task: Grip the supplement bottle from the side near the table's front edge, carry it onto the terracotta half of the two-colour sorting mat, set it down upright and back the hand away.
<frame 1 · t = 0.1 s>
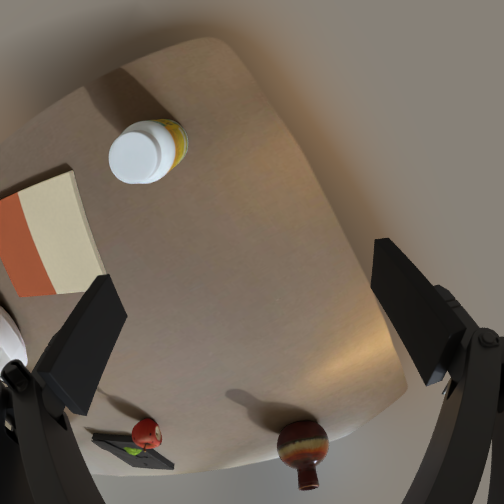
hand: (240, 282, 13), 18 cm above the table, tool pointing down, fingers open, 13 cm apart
vase: (300, 427, 54), on the table
sorting mat: (39, 242, 32), on the table
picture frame: (134, 450, 62), on the table
bowl: (2, 320, 39), on the table
apple: (148, 419, 52), on the table
supplement bottle: (164, 143, 27), on the table
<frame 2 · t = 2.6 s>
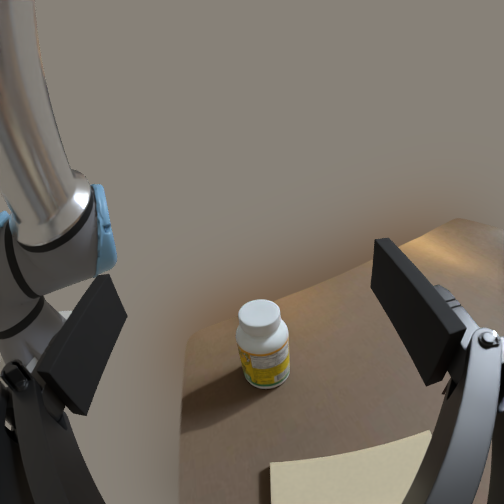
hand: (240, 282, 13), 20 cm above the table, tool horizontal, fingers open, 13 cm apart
supplement bottle: (267, 372, 32), on the table
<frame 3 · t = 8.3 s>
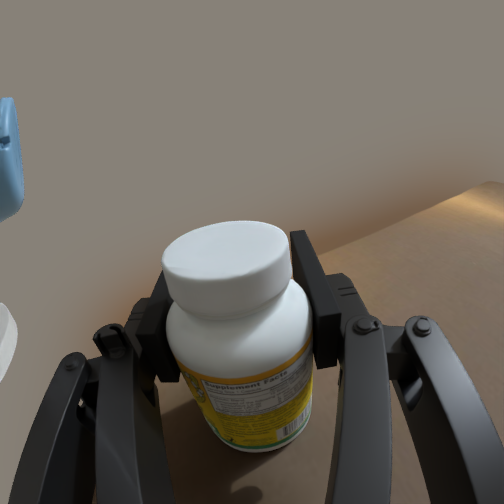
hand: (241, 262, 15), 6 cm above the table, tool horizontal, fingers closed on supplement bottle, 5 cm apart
supplement bottle: (259, 412, 13), on the table, touching gripper
when the fingers open (7 cm above the table, at t = 17.2 s): supplement bottle stays where it is, resting on sorting mat.
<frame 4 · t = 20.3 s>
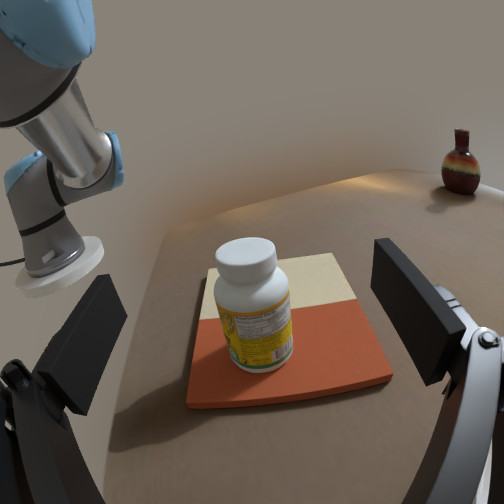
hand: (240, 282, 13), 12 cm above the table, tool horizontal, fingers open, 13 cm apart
vase: (459, 190, 56), on the table
sorting mat: (279, 318, 28), on the table
supplement bottle: (261, 352, 23), point 1 cm above the table, touching sorting mat
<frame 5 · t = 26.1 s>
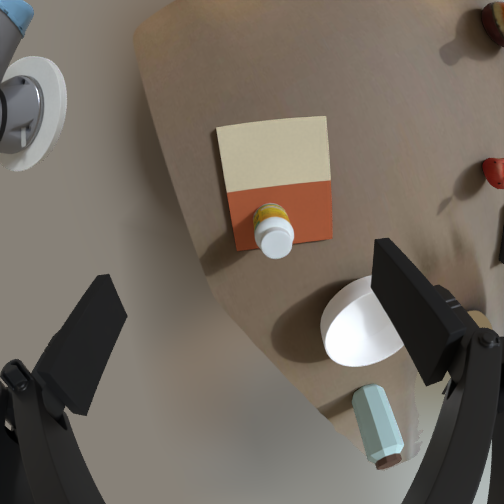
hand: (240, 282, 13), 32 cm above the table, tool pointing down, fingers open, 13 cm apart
vase: (492, 27, 26), on the table
sorting mat: (278, 184, 43), on the table
bowl: (360, 303, 55), on the table
water bottle: (366, 391, 71), on the table
apple: (485, 168, 41), on the table
supplement bottle: (270, 217, 45), point 1 cm above the table, touching sorting mat
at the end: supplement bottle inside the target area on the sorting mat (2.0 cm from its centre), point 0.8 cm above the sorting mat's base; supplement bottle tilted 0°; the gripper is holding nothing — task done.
